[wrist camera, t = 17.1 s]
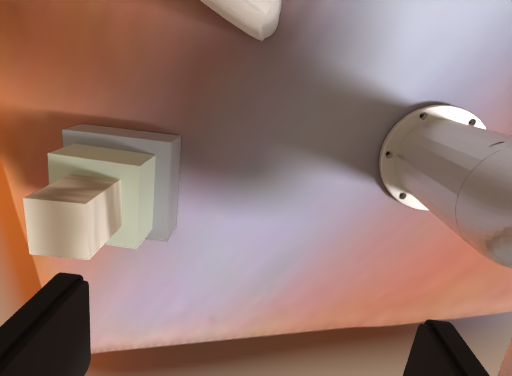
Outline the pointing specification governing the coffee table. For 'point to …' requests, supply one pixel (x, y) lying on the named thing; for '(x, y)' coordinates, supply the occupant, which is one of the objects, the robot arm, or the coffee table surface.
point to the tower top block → (116, 167)
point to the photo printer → (249, 15)
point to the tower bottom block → (148, 143)
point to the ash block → (73, 216)
